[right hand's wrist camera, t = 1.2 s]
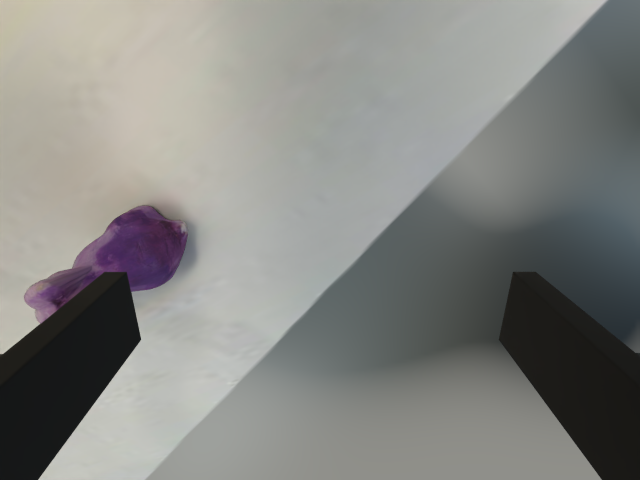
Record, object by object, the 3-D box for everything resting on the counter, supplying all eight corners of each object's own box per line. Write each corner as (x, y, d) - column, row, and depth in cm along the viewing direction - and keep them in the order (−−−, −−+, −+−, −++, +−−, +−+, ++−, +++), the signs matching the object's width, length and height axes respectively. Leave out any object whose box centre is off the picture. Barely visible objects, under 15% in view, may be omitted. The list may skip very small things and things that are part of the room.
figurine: (98, 275, 42) (-11, 363, 28) (107, 191, 39) (-13, 244, 25) (180, 296, 43) (114, 391, 29) (196, 217, 40) (129, 281, 26)
